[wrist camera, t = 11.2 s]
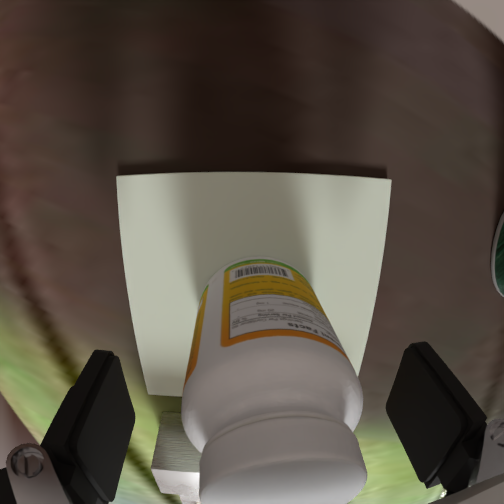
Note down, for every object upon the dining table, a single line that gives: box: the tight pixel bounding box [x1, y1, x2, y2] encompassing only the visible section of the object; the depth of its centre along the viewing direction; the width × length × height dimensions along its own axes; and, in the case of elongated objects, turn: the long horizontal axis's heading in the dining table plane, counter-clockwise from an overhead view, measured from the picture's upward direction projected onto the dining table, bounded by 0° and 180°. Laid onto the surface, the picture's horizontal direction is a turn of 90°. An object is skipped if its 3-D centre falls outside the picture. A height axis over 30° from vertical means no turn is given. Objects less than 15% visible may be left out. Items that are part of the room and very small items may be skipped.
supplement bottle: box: [181, 256, 367, 504], centre depth 10 cm, size 5×5×10 cm
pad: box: [116, 172, 391, 396], centre depth 15 cm, size 12×12×1 cm
